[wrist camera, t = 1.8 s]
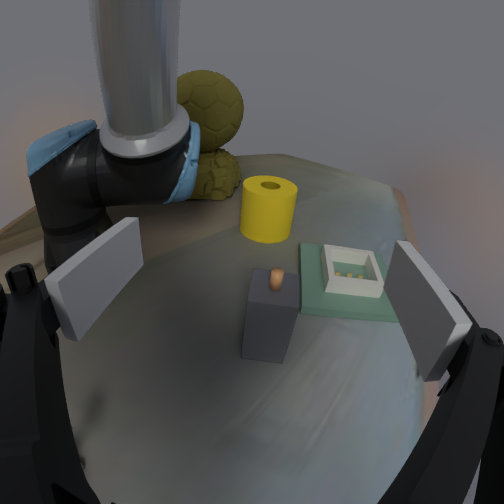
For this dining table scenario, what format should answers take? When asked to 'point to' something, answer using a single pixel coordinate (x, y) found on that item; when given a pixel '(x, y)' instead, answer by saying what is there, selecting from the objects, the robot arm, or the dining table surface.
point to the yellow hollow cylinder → (267, 208)
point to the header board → (343, 283)
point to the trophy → (213, 130)
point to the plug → (270, 314)
